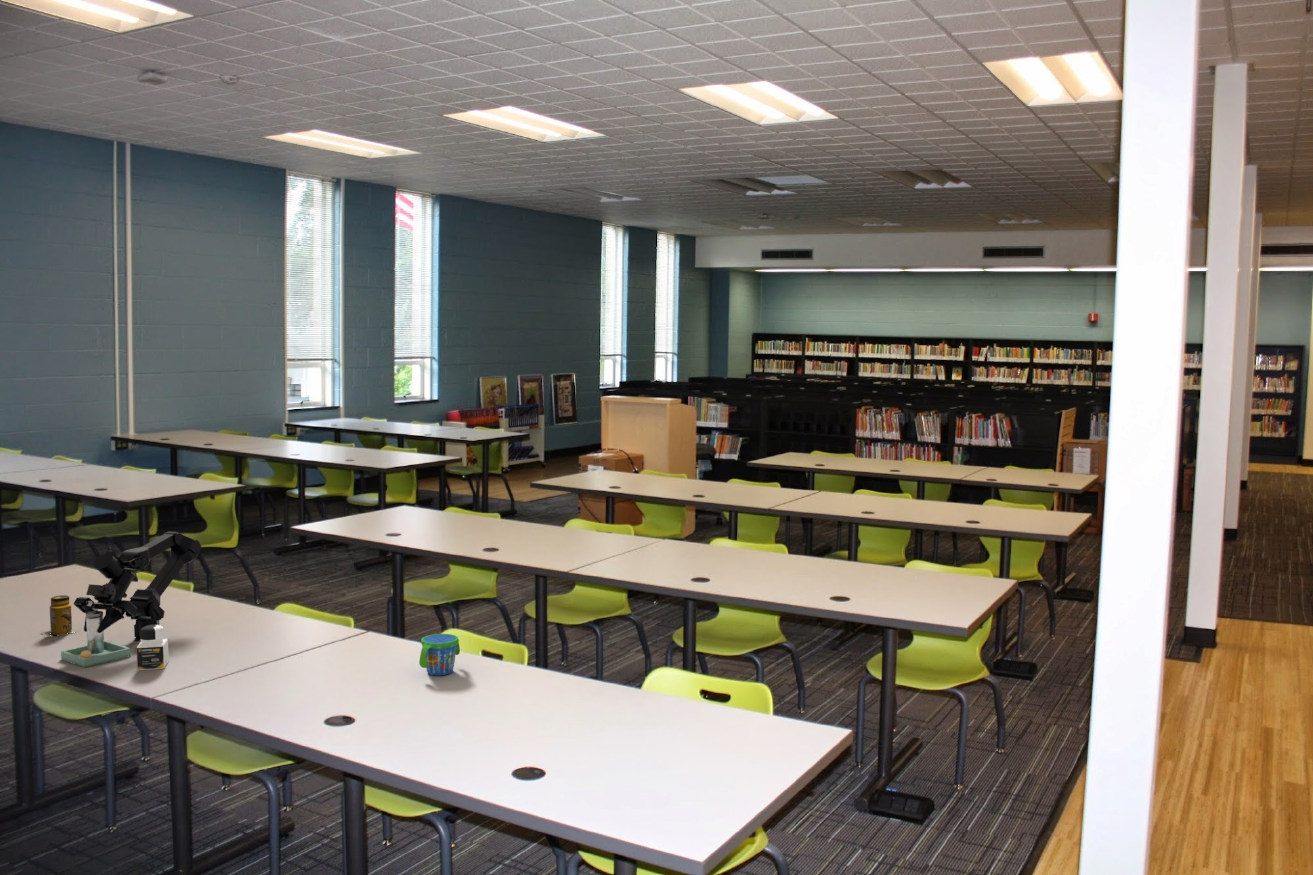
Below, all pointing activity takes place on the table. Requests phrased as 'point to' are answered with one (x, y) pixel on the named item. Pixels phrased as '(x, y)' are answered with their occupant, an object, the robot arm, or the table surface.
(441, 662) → the snack cup
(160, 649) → the medicine bottle
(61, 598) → the condiment
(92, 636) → the cylinder
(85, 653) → the ball
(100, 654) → the tray
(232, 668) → the table surface
